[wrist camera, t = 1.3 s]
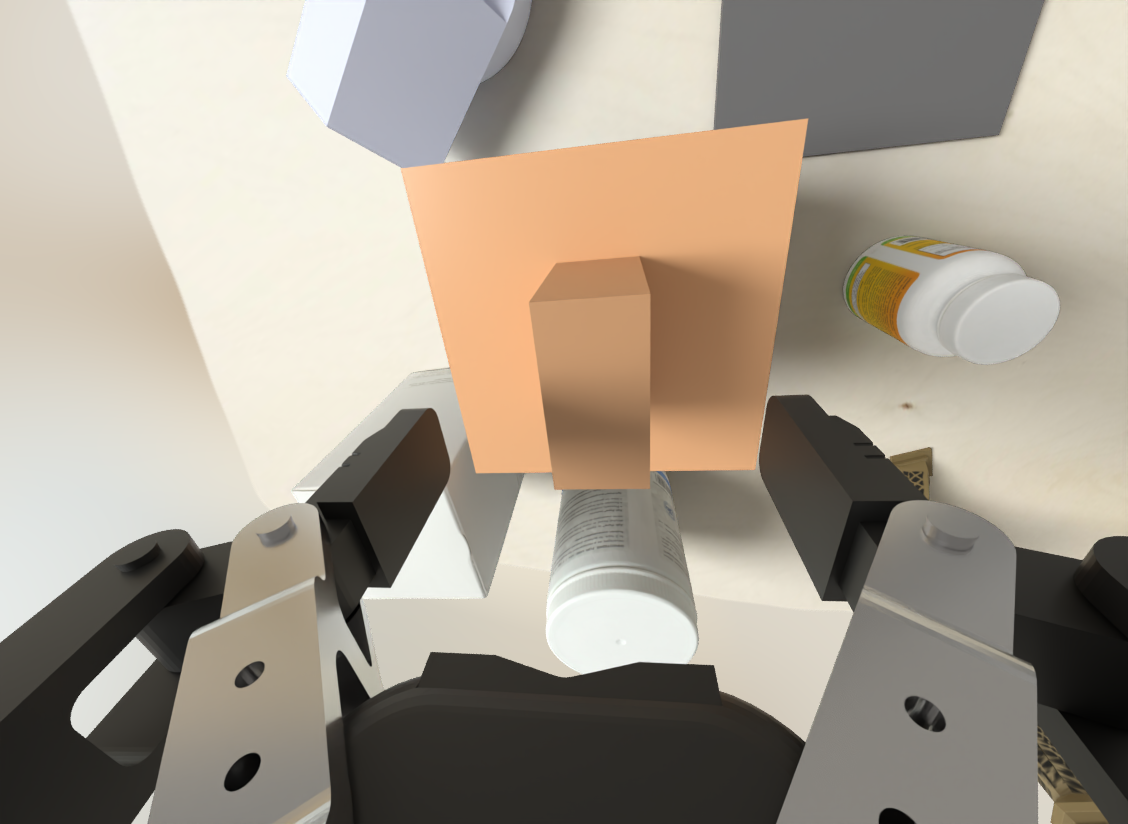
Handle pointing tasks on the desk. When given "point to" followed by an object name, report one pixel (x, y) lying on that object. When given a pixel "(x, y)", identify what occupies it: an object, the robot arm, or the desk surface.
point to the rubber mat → (872, 68)
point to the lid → (612, 299)
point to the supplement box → (461, 515)
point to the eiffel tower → (1073, 807)
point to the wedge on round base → (401, 68)
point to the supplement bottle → (950, 299)
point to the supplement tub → (620, 580)
